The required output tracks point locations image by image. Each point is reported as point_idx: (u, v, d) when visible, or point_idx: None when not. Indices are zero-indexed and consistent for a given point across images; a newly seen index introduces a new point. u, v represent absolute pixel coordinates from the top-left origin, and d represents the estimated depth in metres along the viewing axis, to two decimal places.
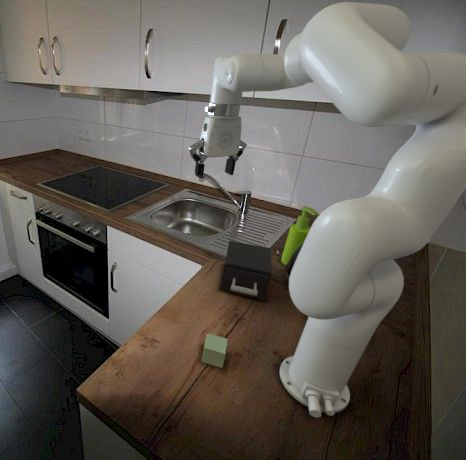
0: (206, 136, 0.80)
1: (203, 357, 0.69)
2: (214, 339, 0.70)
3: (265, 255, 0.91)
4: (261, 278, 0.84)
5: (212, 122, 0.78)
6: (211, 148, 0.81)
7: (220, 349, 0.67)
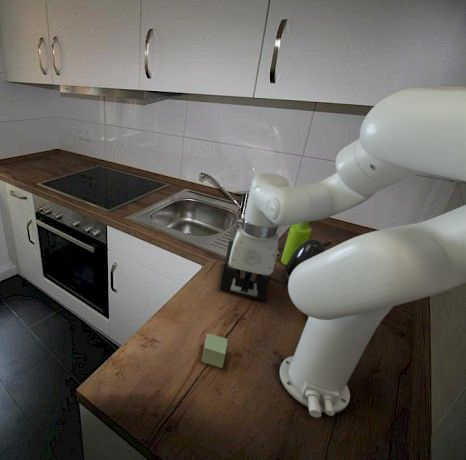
0: (232, 246, 0.77)
1: (203, 357, 0.69)
2: (214, 339, 0.70)
3: None
4: (261, 278, 0.84)
5: (237, 236, 0.75)
6: (234, 260, 0.77)
7: (220, 349, 0.67)
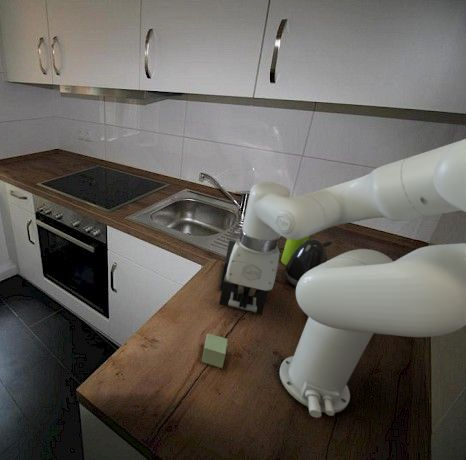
0: (229, 260, 0.72)
1: (203, 357, 0.69)
2: (214, 339, 0.70)
3: None
4: (261, 292, 0.79)
5: (235, 249, 0.69)
6: (232, 274, 0.72)
7: (220, 349, 0.67)
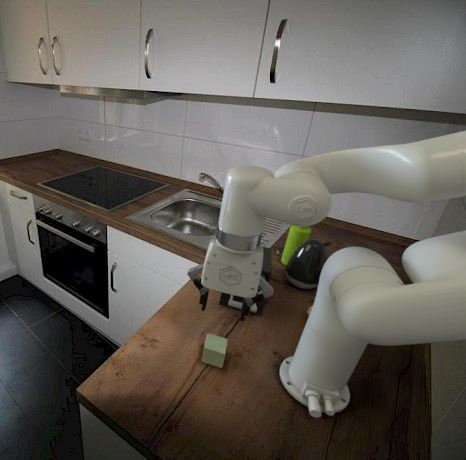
0: None
1: (203, 357, 0.69)
2: (214, 339, 0.70)
3: (265, 255, 0.91)
4: None
5: (210, 248, 0.57)
6: (207, 278, 0.59)
7: (220, 349, 0.67)
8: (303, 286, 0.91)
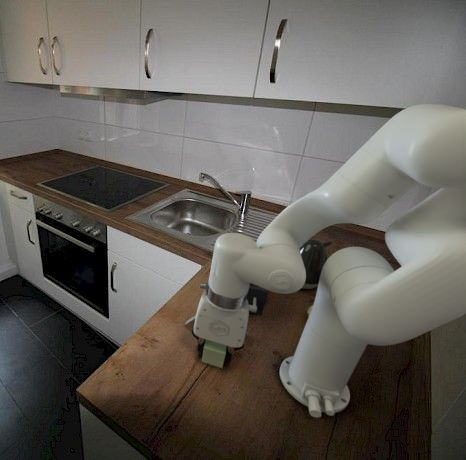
0: (196, 313, 0.66)
1: (203, 357, 0.69)
2: None
3: None
4: (261, 292, 0.79)
5: (201, 303, 0.63)
6: (199, 329, 0.65)
7: (220, 349, 0.67)
8: (303, 286, 0.91)
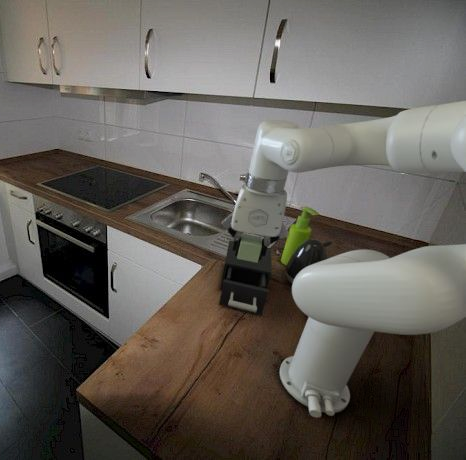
0: (235, 206, 0.69)
1: (239, 253, 0.73)
2: (249, 237, 0.74)
3: (265, 255, 0.91)
4: (261, 292, 0.79)
5: (241, 194, 0.67)
6: (237, 221, 0.69)
7: (256, 243, 0.71)
8: None
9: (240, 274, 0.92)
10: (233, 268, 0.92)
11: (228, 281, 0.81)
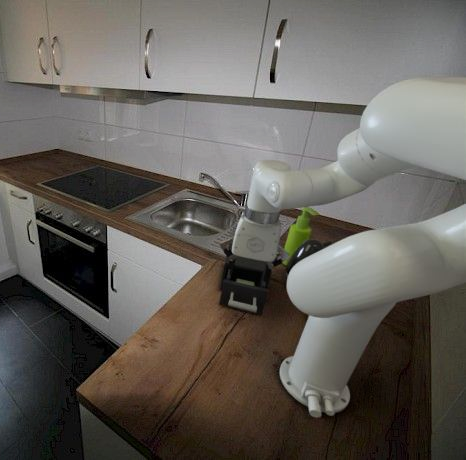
0: (235, 234, 0.77)
1: None
2: (243, 282, 0.85)
3: None
4: (261, 292, 0.79)
5: (240, 223, 0.75)
6: (237, 247, 0.77)
7: None
8: None
9: (240, 274, 0.92)
10: None
11: (228, 281, 0.81)
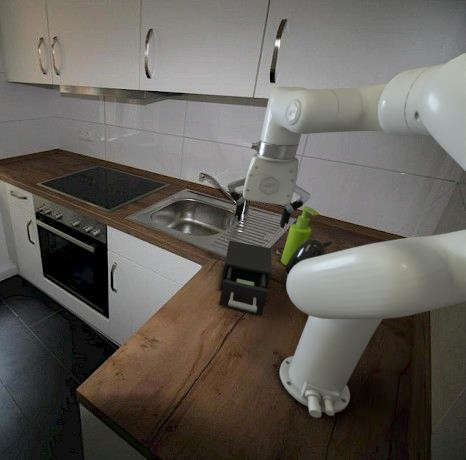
0: None
1: None
2: (243, 282, 0.85)
3: (265, 255, 0.91)
4: (261, 292, 0.79)
5: (252, 162, 0.68)
6: (249, 190, 0.70)
7: None
8: None
9: (240, 274, 0.92)
10: (233, 268, 0.92)
11: (228, 281, 0.81)
